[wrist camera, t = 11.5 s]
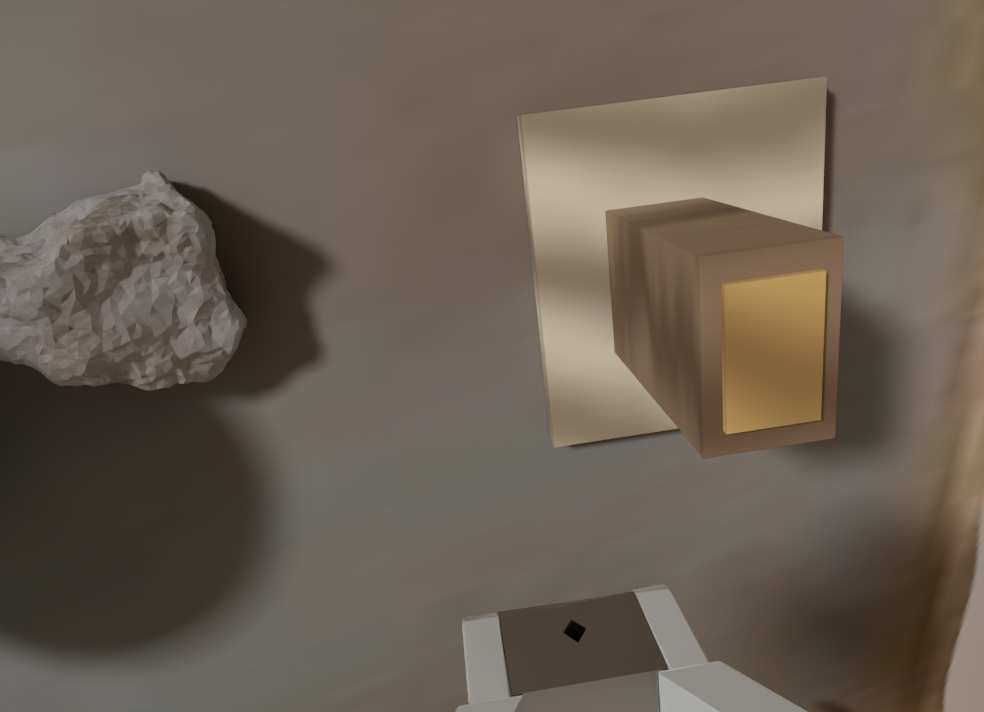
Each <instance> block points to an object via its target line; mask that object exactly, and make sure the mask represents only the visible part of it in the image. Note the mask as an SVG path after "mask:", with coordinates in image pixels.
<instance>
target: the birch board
mask: <svg viewBox="0 0 984 712" xmlns="http://www.w3.org/2000/svg"><path fill="white" fill-rule="evenodd" d="M826 96H827V76H825V77H816V78H807V79H799V80H791V81H783V82H775V83H768V84H760V85H752V86H744V87H736V88H728V89H720V90H712V91H705V92H697V93H689V94H681V95H673V96H665V97H657V98H650V99H642V100H634V101H626V102H618V103H610V104H602V105H594V106H587V107H579V108H571V109H563V110H555V111H547V112H539V113H531V114H524V115H517V121H518V131H519V140H520V150H521V160H522V170H523V180H524V189H525V199H526V209H527V219H528V229H529V238H530V248H531V258H532V268H533V278H534V287H535V297H536V307H537V317H538V327H539V336H540V346H541V356H542V366H543V376H544V385H545V395H546V405H547V415H548V425H549V434H550V438H551V440H552V443H553V445H554V447H561V446H567V445H574V444H580V443H587V442H593V441H600V440H606V439H613V438H619V437H626V436H632V435H639V434H646V433H652V432H659V431H665V430H672V429H678V427H677V426H676V425H675V424H674V423H673V421H672V420H671V419H670V418H669V417H668V416H667V414H666V413H665V412H664V411H663V410H662V408H661V407H660V406H659V405H658V404H657V402H656V401H655V400H654V399H653V398H652V396H651V395H650V394H649V393H648V392H647V390H646V389H645V388H644V387H643V386H642V384H641V383H640V382H639V381H638V380H637V378H636V377H635V376H634V375H633V374H632V373H631V371H630V370H629V369H628V368H627V367H626V365H625V364H624V363H623V362H622V361H621V359H620V358H619V357H618V356H617V355H616V353H615V351H614V336H613V321H612V306H611V291H610V276H609V261H608V246H607V231H606V215H605V211H607V210H614V209H622V208H629V207H636V206H644V205H651V204H658V203H666V202H673V201H680V200H688V199H695V198H707V199H710V200H714V201H717V202H721V203H725V204H728V205H732V206H735V207H739V208H743V209H746V210H750V211H753V212H757V213H761V214H764V215H768V216H771V217H775V218H779V219H782V220H786V221H789V222H793V223H797V224H800V225H804V226H807V227H811V228H815V229H818V230H822V216H823V186H824V156H825V126H826Z"/></svg>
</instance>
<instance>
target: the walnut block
mask: <svg viewBox="0 0 984 712" xmlns="http://www.w3.org/2000/svg"><path fill="white" fill-rule="evenodd" d="M605 215H606V231H607V246H608V261H609V276H610V291H611V306H612V321H613V336H614V351H615V353H616V355H617V356H618V357H619V358H620V359H621V361H622V362H623V363H624V364H625V365H626V367H627V368H628V369H629V370H630V371H631V373H632V374H633V375H634V376H635V377H636V378H637V380H638V381H639V382H640V383H641V384H642V386H643V387H644V388H645V389H646V390H647V392H648V393H649V394H650V395H651V396H652V398H653V399H654V400H655V401H656V402H657V404H658V405H659V406H660V407H661V408H662V410H663V411H664V412H665V413H666V414H667V416H668V417H669V418H670V419H671V420H672V421H673V423H674V424H675V425H676V426H677V427H678V429H679V430H680V431H681V432H682V433H683V435H684V436H685V437H686V438H687V439H688V441H689V442H690V443H691V444H692V445H693V447H694V448H695V449H696V450H697V451H698V453H699V454H700V455H701V456H702V457H703V459H705V458H711V457H718V456H724V455H730V454H737V453H743V452H750V451H756V450H762V449H769V448H775V447H782V446H788V445H794V444H801V443H807V442H814V441H820V440H826V439H833V438H835V430H836V407H837V384H838V361H839V338H840V315H841V292H842V268H843V245H844V237H843V236H840V235H836V234H832V233H829V232H825V231H822V230H818V229H815V228H811V227H807V226H804V225H800V224H797V223H793V222H789V221H786V220H782V219H779V218H775V217H771V216H768V215H764V214H761V213H757V212H753V211H750V210H746V209H743V208H739V207H735V206H732V205H728V204H725V203H721V202H717V201H714V200H710V199H707V198H695V199H688V200H680V201H673V202H666V203H658V204H651V205H644V206H636V207H629V208H622V209H614V210H607V211H605Z"/></svg>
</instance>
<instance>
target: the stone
mask: <svg viewBox="0 0 984 712" xmlns="http://www.w3.org/2000/svg"><path fill="white" fill-rule="evenodd" d="M215 253H216V239H215V230H214V229H213V228H212V222H211V220H210V219H209V217H208V216H207V215H206V213H205V212H204V211H203V210H201V209H199V207H198V206H197V205H196V204H194V203H193V202H192V201H190V200H189V199H187V198H185V197H184V196H182V195H181V194H180V193H178V192H177V191H176V189H175V188H174V187H173V186H172V184H171V183H170V182H169V181H168V179H167V178H166V176H165V175H164V174H163V173H161V172H159V171H158V172H153V171H151V170H150V171H148V172H146V173H145V174H144V175H143V176H142V183H141V184H139V185H136V186H132V187H127V188H123V189H120V190H117V191H114V192H110V193H103V194H99V195H95V196H92V197H89V198H82V199H78V200H76V201H75V202H73V203H72V204H71V205H70V206H69V207H67V208H66V209H65V210H64V211H62V212H58V213H54V214H52V215H51V216H50V217H49V218H48V219H47V220H45V221H44V222H43V223H41V224H40V225H39V226H38V227H37V228H36V229H35V230H34V231H33V232H32V233H29V234H26V235H23V236H21V237H4V236H1V235H0V360H1V361H5V362H11V363H12V364H23V365H26V366H29V367H32V368H34V369H35V370H37V371H39V372H40V373H42V374H43V375H44V376H45V377H46V378H47V379H48V380H50V381H51V382H53V383H55V384H57V385H59V386H83V385H89V386H93V387H96V386H101V385H107V384H113V383H124V384H129V385H133V386H135V387H137V388H139V389H142V390H148V391H151V390H156V389H161V388H170V387H172V386H173V385H174V384H176V383H178V384H187V383H191V382H202V383H205V382H207V381H210V380H212V379H214V378H215V377H216V376H217V375H218V374H220V373H221V372H222V371H223V370H224V368H225V366H226V365H227V362H228V361H229V360H231V359H232V356H233V354H234V352H235V351H236V350H237V348H238V345H239V342H240V340H241V337H242V335H243V331H244V330H245V329H246V327H247V319H246V317H245V315H244V314H243V312H242V311H241V309H240V308H239V307H238V306H237V305H236V304H235V302H234V301H233V299H232V297H231V295H230V293H229V292H228V291H227V290H226V281H225V278H224V275H223V272H222V270H221V268H220V266H219V261H218V259H217V257H216V255H215Z"/></svg>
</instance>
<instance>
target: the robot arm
mask: <svg viewBox="0 0 984 712" xmlns="http://www.w3.org/2000/svg"><path fill="white" fill-rule="evenodd" d="M498 615H499V618H498ZM499 623H500V625H499ZM462 629H463V641H464V653H465V665H466V677H467V689H468V701H469V704H467V705H462V706H458V707H457V709H456V711H455V712H807V711H806V710H804V709H802V708H800V707H799V706H797V705H795V704H793V703H792V702H790V701H788V700H787V699H785V698H783V697H781V696H780V695H778V694H776V693H775V692H773V691H771V690H769V689H768V688H766V687H764V686H763V685H761V684H759V683H757V682H756V681H754V680H752V679H750V678H749V677H747V676H745V675H744V674H742V673H740V672H738V671H737V670H735V669H733V668H732V667H730V666H728V665H726V664H725V663H723V662H721V661H717V662H711V663H710V662H709V660H708V658H707V656H706V654H705V652H704V651H703V649H702V647H701V645H700V643H699V641H698V639H697V638H696V636H695V634H694V632H693V630H692V628H691V626H690V625H689V623H688V621H687V619H686V617H685V615H684V614H683V612H682V610H681V608H680V606H679V604H678V602H677V601H676V599H675V597H674V595H673V593H672V591H671V590H670V588H669V587H668V586H667V585H665V584H661V585H656V586H651V587H646V588H640V589H635V590H631V592H624V593H618V594H613V595H607V596H601V597H595V598H589V599H583V600H578V601H572V602H566V603H565V602H564V603H557V604H550V605H543V606H536V607H529V608H522V609H515V610H507V611H500V612H498V614H497V613H490V614H483V615H476V616H470V617H463V622H462ZM500 630H501V631H500Z"/></svg>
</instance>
